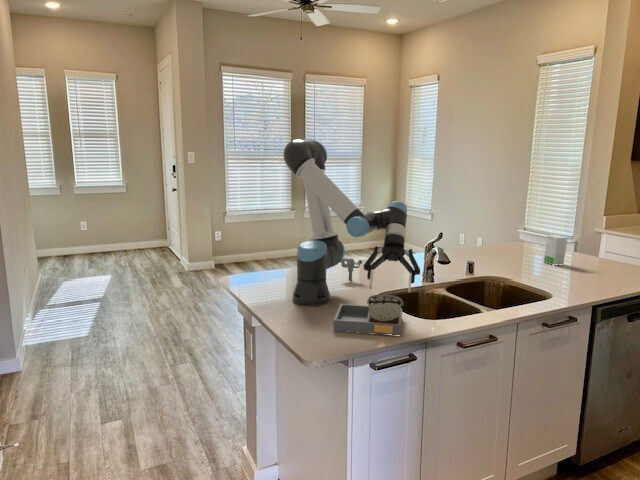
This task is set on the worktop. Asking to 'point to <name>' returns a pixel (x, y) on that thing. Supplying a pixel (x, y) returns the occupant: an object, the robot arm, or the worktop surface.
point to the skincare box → (555, 249)
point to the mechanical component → (350, 265)
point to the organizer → (362, 321)
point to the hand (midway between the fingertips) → (389, 289)
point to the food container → (384, 308)
